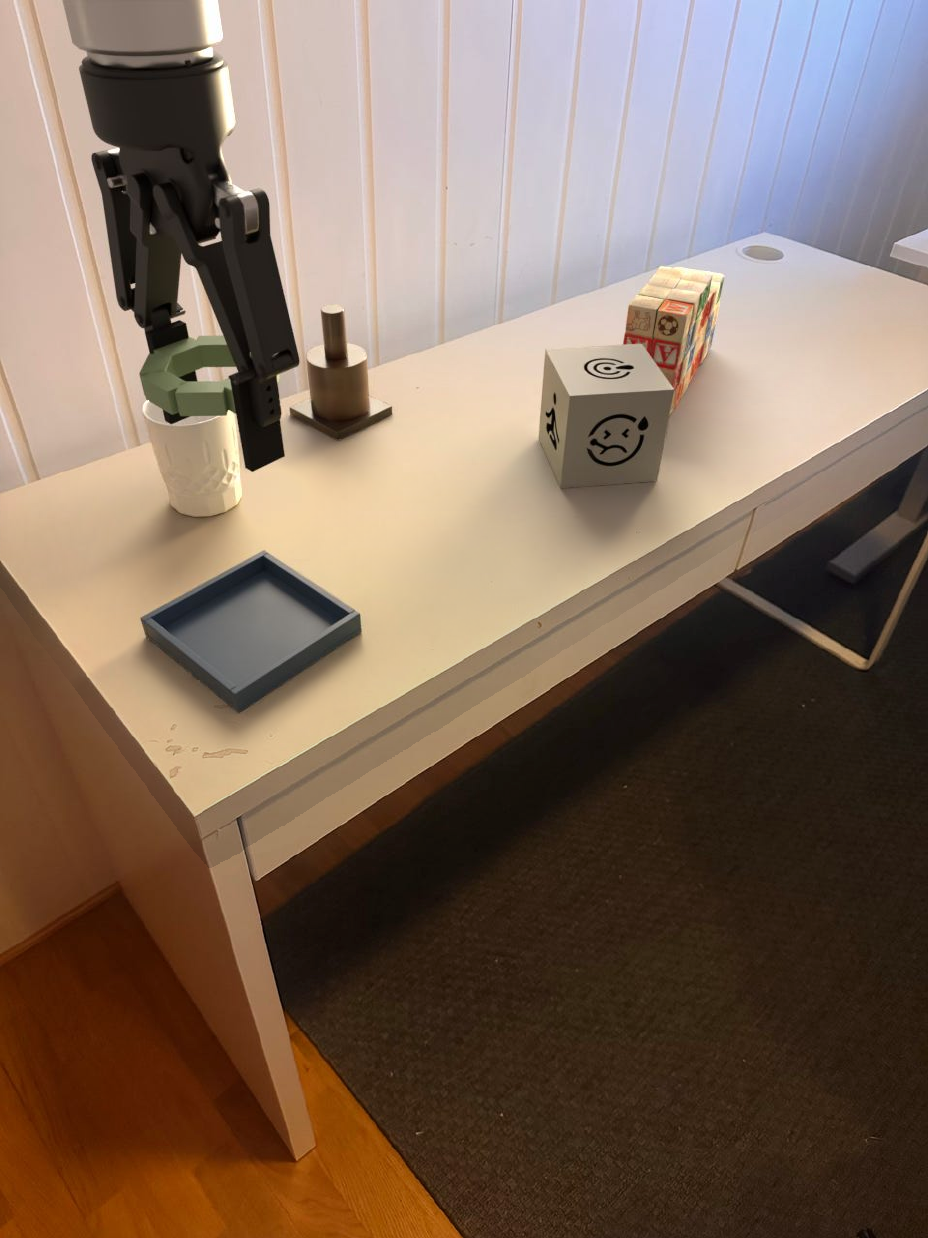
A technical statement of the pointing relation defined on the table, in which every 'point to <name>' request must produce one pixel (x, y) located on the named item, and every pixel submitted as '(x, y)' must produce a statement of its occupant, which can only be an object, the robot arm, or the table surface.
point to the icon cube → (603, 415)
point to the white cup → (196, 460)
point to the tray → (251, 628)
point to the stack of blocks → (676, 322)
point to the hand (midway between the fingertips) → (223, 437)
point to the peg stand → (338, 383)
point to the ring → (189, 396)
